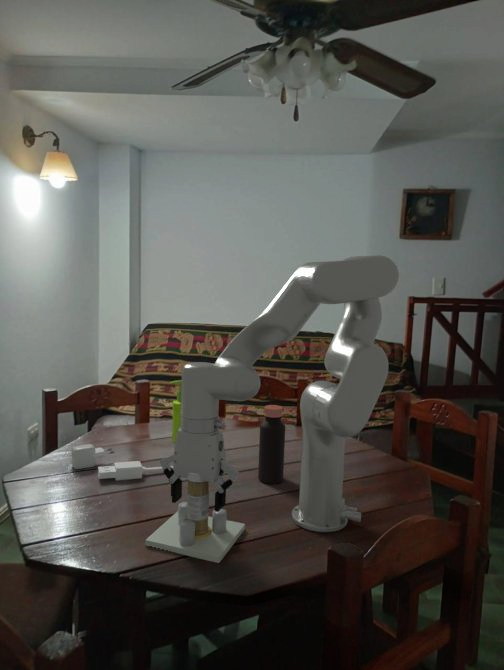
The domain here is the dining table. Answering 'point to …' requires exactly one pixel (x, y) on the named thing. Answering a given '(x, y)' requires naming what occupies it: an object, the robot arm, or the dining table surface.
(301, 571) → the dining table surface
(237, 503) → the dining table surface
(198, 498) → the sprinkles bottle
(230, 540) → the pin board
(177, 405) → the soap dispenser
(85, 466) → the power adapter
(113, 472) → the charging cable
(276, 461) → the vinegar
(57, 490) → the dining table surface
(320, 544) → the dining table surface
